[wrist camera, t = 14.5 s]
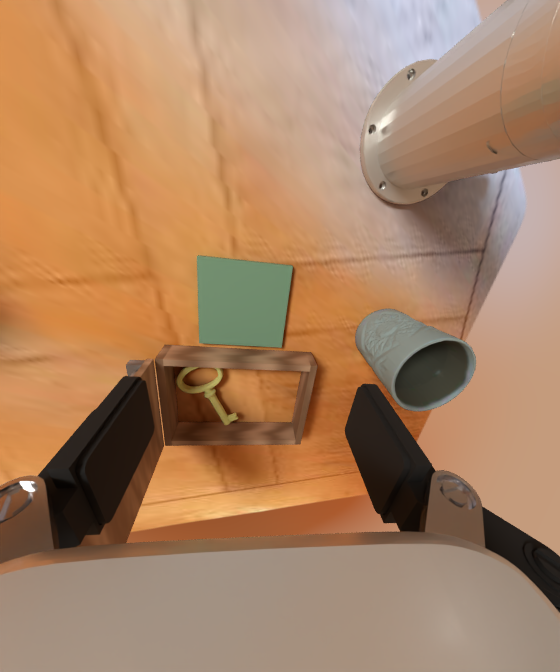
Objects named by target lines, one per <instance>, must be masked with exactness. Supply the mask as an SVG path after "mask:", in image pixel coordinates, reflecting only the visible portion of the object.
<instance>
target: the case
mask: <svg viewBox="0 0 560 672" xmlns="http://www.w3.org/2000/svg"><path fill="white" fill-rule="evenodd" d="M155 364H156V372H157V381H158V389H159V397H160V405H161V414H162V422H163V430H164V438H165V446H180V445H296V444H301V439H302V435H303V430H304V425H305V421H306V416H307V412H308V407H309V403H310V398H311V394H312V389H313V384H314V380H315V375H316V371H317V364H316V362H315V360H314V357H313V355H312V353H311V352H294V351H275V350H256V349H236V348H217V347H198V346H179V345H164V347H163V348H162V350H161V351H160V353H159V354H158V355H157V357H156V358H155ZM174 366H179V367H205V368H230V369H256V370H281V371H301V377H300V382H299V387H298V393H297V398H296V403H295V409H294V414H293V419H292V422H230V424H228V425H224V423H223V422H179V421H178V409H177V397H176V385H175V373H174ZM126 369H127V374H128V376H137V377H141V378H142V380H145V381H146V384H147V389H148V394H149V400H150V405H151V410H152V415H153V420H154V426H155V428H154V433H153V436H152V438H151V440H150V442H149V444H148V446H147V448H146V450H145V452H144V455H143V457H142V459H141V461H140V463H139V465H138V467H137V469H136V471H135V473H134V475H133V477H132V479H131V481H130V484H129V486H128V488H127V490H126V492H125V494H124V496H123V498H122V500H121V502H120V504H119V506H118V508H117V510H116V513H115V515H114V517H113V518H112V520H111V521H110V522H109V523H106V524H105V525H104V527H103V529H102V531H101V533H100V535H85V537H84V539H83V541H82V542H81V544H80V545H79V546H78V547H81V546H94V545H108V544H123V543H126V542H127V539H128V536H129V534H130V531H131V529H132V526H133V524H134V521H135V519H136V516H137V514H138V511H139V508H140V506H141V503H142V501H143V498H144V496H145V493H146V491H147V488H148V485H149V483H150V480H151V478H152V475H153V473H154V470H155V467H156V465H157V462H158V460H159V457H160V455H161V452H162V450H163V447H164V441H163V433H162V425H161V417H160V409H159V401H158V393H157V385H156V377H155V369H154V361H153V359H146V360H145V361H142V360H130V361H129V362H128V363H127V364H126Z"/></svg>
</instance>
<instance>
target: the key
mask: <svg viewBox="0 0 560 672" xmlns="http://www.w3.org/2000/svg"><path fill="white" fill-rule="evenodd" d="M196 368H200V367H184V368H183V369H182V370H181V371H180V373H179V374H178V376H177V386H178V387H179V389H180V390H182V391H183V392H186V393H192V394H194V393H200V392H205V394H204V397H205V398H209V400H210V402H211V403H212V405H213V407H214V408H215V410H216V412H217V413H218V415H219V417H220V418H221V420H222V422H223V423H224V425H228V424H230V422H231V421H234V420H237V419H238V418H239V417H238V416H237V414H236V412H235V413H233V414H230V415H227V413H226V412H225V410H224V408H223V407H222V405H221V403H220V401H219V400H218V398H217V396H216V395H215V393H216V390H215V389H212V388H213V387H215V386H216V385H217V384H218V383H219V382H220V381H221V379H222V377H223V368H214V369H216V370H217V371H218V377H217V378H216V379H214V380H213V381H211V382H209V383H207V384H204V385H201V386H188V385H186V384H185V383H184V382H183V378H184V376H185V375H186V374H187V373H189V372H190V371H192V370H194V369H196ZM236 416H237V417H236Z"/></svg>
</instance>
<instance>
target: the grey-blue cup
mask: <svg viewBox="0 0 560 672" xmlns="http://www.w3.org/2000/svg"><path fill="white" fill-rule="evenodd" d="M355 341H356V345H357V348H358V350H359V351H360V352H361V354H362V355H363V356H364V358H365V359H366V361H367V362H368V364H369V365H370V366H371V367H372V368H373V371H374V372H375V374H376V375H377V376H378V378H379V379H380V381H381V382H382V383H383V385H384V386H385V387H386V389H387V390H388V392H389V393H390V394H391V396H392V397H393V399H394V400H395V401H396V402H397V404H398V405H400V406H401V407H402V408H404V409H407V410H410V411H427V410H431V409H434V408H437V407H440V406H442V405H444V404H446V403H447V402H449V401H451V400H452V399H453V398H455V397H456V396H457V395H458V394H459V393H460V392H462V390H463V389H464V388H465V387H466V386H467V384H468V383H469V382H470V380H471V378H472V376H473V373H474V371H475V367H476V357H475V354H474V352H473V350H472V348H471V347H470V346H469V345H468V344H467V343H466V342H464V341H463V340H460V339H458V338H456V337H454V336H451V335H449V334H447V333H444V332H442V331H439V330H437V329H435V328H434V327H431V326H426V325H425V324H423V323H422V322H418V321H417V320H414V319H412V318H411V317H409V316H408V315H406V314H404V313H402V312H399V311H397V310H395V309H382V310H378V311H375V312H373V313H371V314H369V315H368V316H367V317H365V318H364V319H363V321H362V322H361V323H360V325H359V326H358V328H357V331H356V336H355Z"/></svg>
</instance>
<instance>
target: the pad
mask: <svg viewBox="0 0 560 672" xmlns="http://www.w3.org/2000/svg"><path fill="white" fill-rule="evenodd" d="M292 269H293V266H292V265H283V264H274V263H264V262H255V261H246V260H237V259H227V258H218V257H209V256H199V255H198V256H197V276H198V311H199V343H206V344H225V345H243V346H262V347H280V348H282V341H283V334H284V327H285V320H286V312H287V305H288V298H289V291H290V284H291V276H292Z"/></svg>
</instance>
